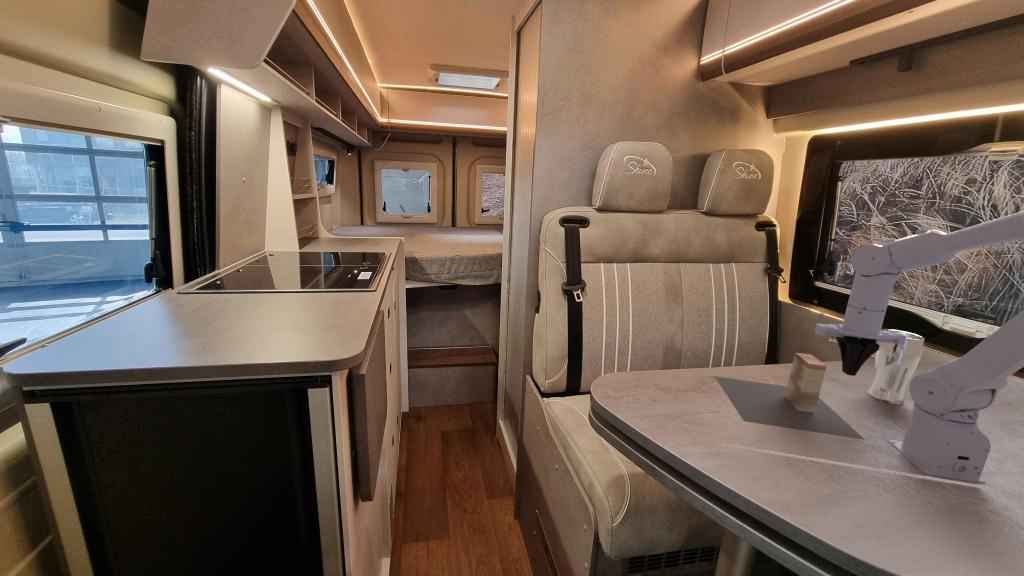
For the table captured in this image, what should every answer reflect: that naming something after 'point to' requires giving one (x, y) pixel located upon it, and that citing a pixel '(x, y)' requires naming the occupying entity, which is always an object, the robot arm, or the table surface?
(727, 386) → the rubber mat
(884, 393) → the beer glass
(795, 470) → the table surface
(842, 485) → the table surface
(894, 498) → the table surface
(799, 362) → the birch block
